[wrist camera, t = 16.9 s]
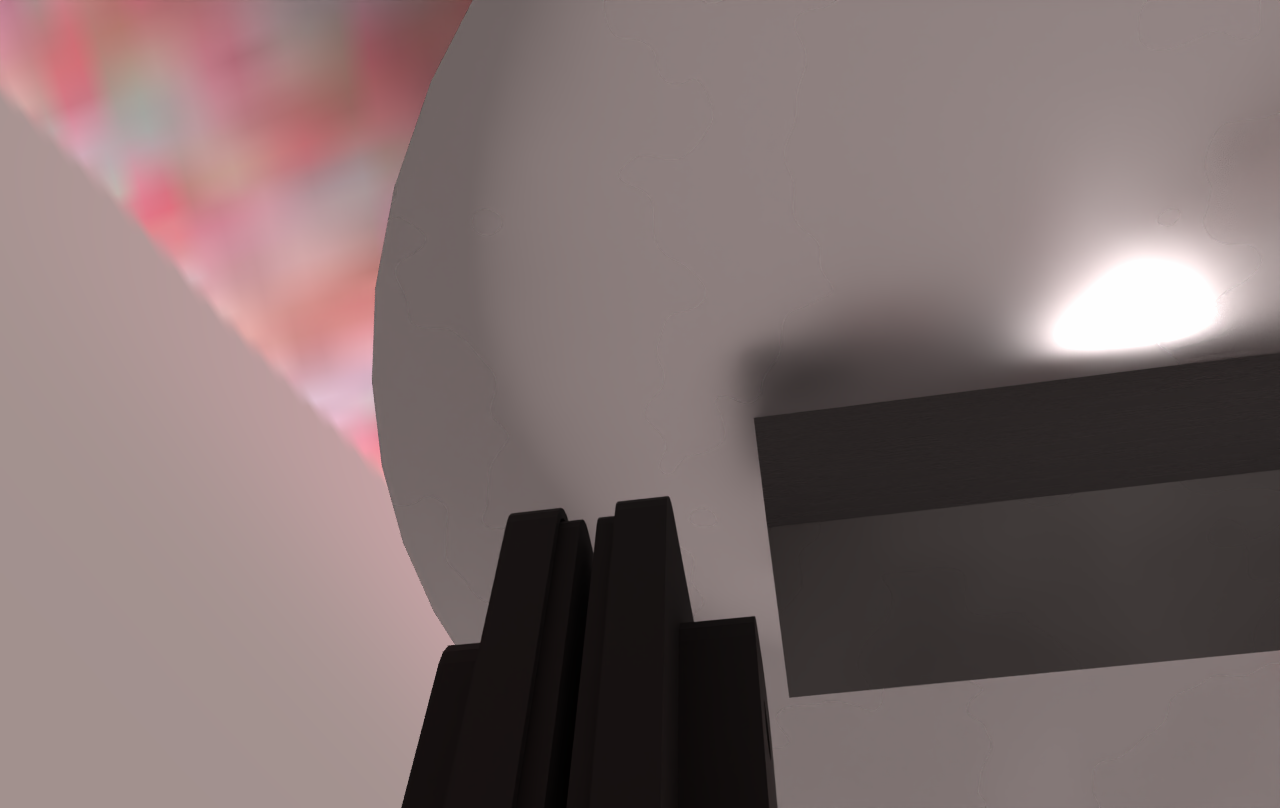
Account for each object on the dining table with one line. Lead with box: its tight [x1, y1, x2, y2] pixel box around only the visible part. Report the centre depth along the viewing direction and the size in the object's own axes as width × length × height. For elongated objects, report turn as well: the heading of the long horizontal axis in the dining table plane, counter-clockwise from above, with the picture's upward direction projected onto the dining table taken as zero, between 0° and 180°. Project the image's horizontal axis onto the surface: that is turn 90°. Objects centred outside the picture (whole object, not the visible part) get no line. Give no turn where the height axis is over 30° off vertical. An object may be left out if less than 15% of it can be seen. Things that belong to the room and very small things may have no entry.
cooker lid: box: [372, 0, 1280, 808], centre depth 12 cm, size 18×18×4 cm
